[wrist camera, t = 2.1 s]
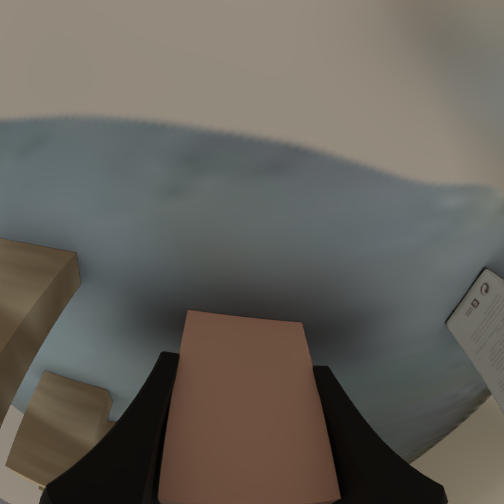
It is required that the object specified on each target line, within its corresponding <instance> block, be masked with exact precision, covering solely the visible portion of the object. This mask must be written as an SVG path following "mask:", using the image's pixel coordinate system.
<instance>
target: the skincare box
mask: <svg viewBox="0 0 504 504" xmlns="http://www.w3.org/2000/svg"><path fill="white" fill-rule="evenodd" d="M446 324H447V328H448V330H449V331H450V333H451V334H452V335H453V337H454V338H455V339H456V341H457V342H458V344H459V345H460V347H461V348H462V349H463V351H464V352H465V354H466V355H467V356H468V358H469V359H470V361H471V362H472V364H473V365H474V367H475V368H476V370H477V371H478V373H479V374H480V376H481V377H482V379H483V380H484V382H485V383H486V385H487V387H488V388H489V390H490V392H491V393H492V395H493V397H494V398H495V400H496V402H497V403H498V405H499V407H500V409H501V410H502V412H503V414H504V280H503V279H501V278H500V277H499V276H497V275H496V274H494V273H493V272H492V271H490V270H488V269H485V270H484V271H483V273H482V274H481V275H480V276H479V278H478V279H477V280H476V282H475V283H474V284H473V286H472V287H471V289H470V290H469V291H468V293H467V294H466V296H465V297H464V299H463V300H462V302H461V303H460V304H459V305H458V307H457V308H456V310H455V311H454V312H453V314H452V315H451V317H450V318H449V320H448V321H447V323H446Z"/></svg>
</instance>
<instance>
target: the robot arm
mask: <svg viewBox="0 0 504 504" xmlns="http://www.w3.org/2000/svg"><path fill="white" fill-rule="evenodd" d="M179 358H180V354H177V353H170V352H164V351H163V352H161V353H160V355H159V358H158V360H157V362H156V364H155V366H154V368H153V370H152V371H151V373H150V375H149V377H148V378H147V380H146V382H145V383H144V385H143V386H142V388H141V389H140V391H139V393H138V394H137V396H136V397H135V399H134V400H133V401H132V403H131V404H130V405H129V407H128V408H127V409H126V411H125V412H124V414H123V415H122V416H121V417H120V419H119V420H118V421H117V422H116V424H115V425H114V426H113V427H112V428H111V429H110V431H109V432H108V433H107V434H106V435H105V436H104V437H103V438H102V439H101V440H100V441H99V442H98V443H97V444H96V445H95V446H94V447H93V448H92V449H91V450H90V451H89V452H88V453H87V454H86V455H85V456H84V457H82V458H81V459H80V460H79V461H78V462H76V463H75V464H74V465H73V466H72V467H71V468H69V469H68V470H67V471H65V472H64V473H62V474H61V475H60V476H58V477H57V478H55V479H54V480H52V481H51V482H50V483H48V484H47V485H46V487H45V489H44V491H43V493H42V496H41V498H40V502H39V504H161V503H160V502H159V500H158V491H159V482H160V473H161V465H162V457H163V450H164V443H165V436H166V429H167V422H168V416H169V409H170V403H171V397H172V391H173V386H174V383H175V380H176V375H177V369H178V363H179ZM312 369H313V374H314V378H315V382H316V387H317V390H318V394H319V397H320V400H321V405H322V409H323V414H324V418H325V423H326V428H327V432H328V437H329V442H330V446H331V451H332V456H333V461H334V466H335V471H336V476H337V481H338V486H339V491H340V497H341V499H339V500H337V501H335V502H333V503H331V504H447V503H448V500H447V496H446V494H445V490H444V487H443V486H442V485H441V484H439V483H437V482H435V481H433V480H432V479H430V478H428V477H426V476H425V475H423V474H422V473H420V472H419V471H417V470H416V469H415V468H413V467H412V466H410V465H409V464H408V463H407V462H406V461H404V460H403V459H402V458H401V457H400V456H398V455H397V454H396V453H395V452H394V451H393V450H392V449H391V448H390V447H389V446H388V445H387V444H386V443H385V442H384V441H383V440H382V439H381V438H380V437H379V436H378V435H377V434H376V433H375V431H374V430H373V429H372V428H371V427H370V425H369V424H368V423H367V422H366V420H365V419H364V418H363V417H362V415H361V414H360V413H359V411H358V410H357V408H356V407H355V406H354V404H353V403H352V401H351V400H350V399H349V397H348V396H347V394H346V393H345V391H344V390H343V388H342V387H341V385H340V384H339V382H338V381H337V379H336V378H335V376H334V374H333V373H332V371H331V370H330V368H329V367H328V366H313V368H312ZM0 504H10V503H8V502H6V501H5V500H3V499H1V498H0Z"/></svg>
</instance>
